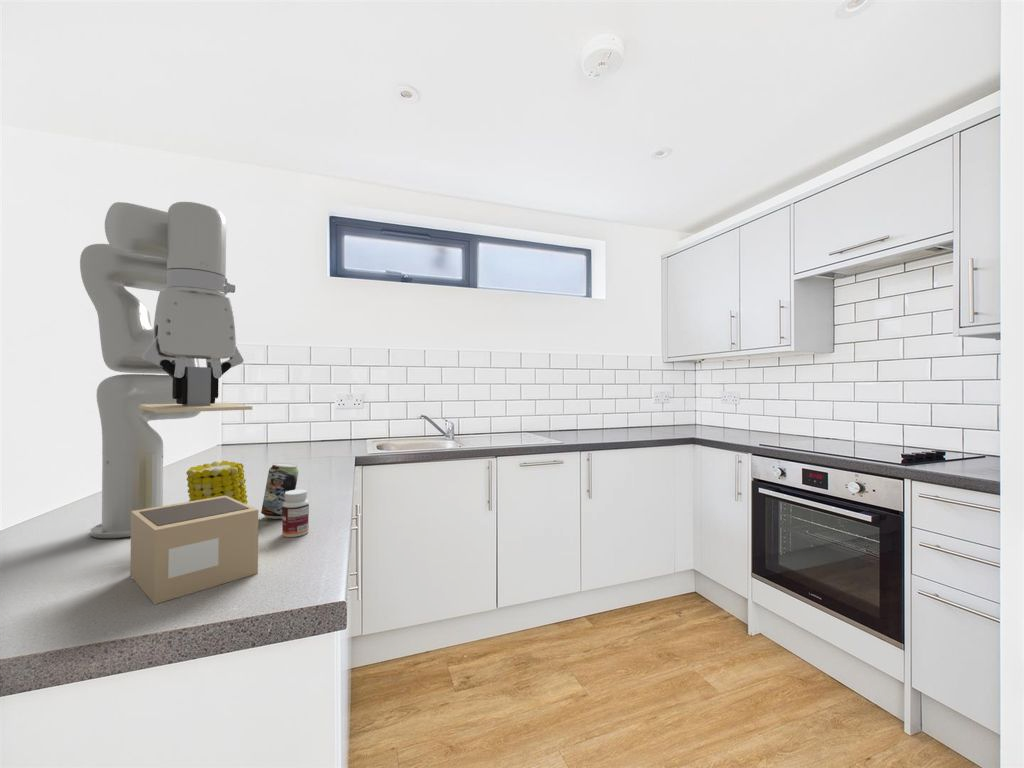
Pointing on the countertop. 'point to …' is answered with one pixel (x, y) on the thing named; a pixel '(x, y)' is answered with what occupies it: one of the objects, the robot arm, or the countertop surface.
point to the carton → (192, 546)
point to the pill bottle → (295, 513)
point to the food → (217, 481)
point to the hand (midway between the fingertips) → (195, 402)
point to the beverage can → (278, 488)
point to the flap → (196, 395)
